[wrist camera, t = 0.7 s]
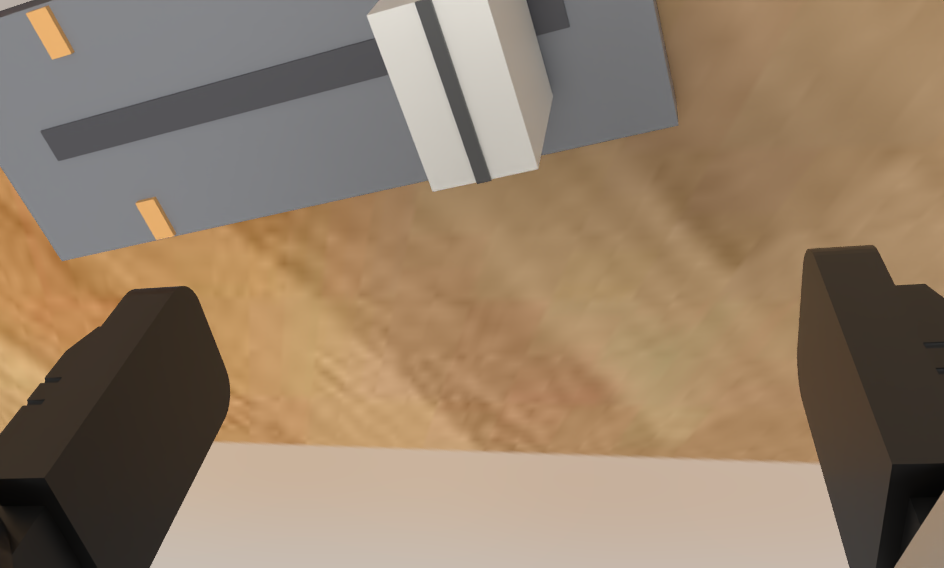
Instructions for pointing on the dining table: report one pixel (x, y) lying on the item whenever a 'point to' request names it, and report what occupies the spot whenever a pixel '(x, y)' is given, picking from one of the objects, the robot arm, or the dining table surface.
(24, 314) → the dining table surface
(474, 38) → the block
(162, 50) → the slider board
